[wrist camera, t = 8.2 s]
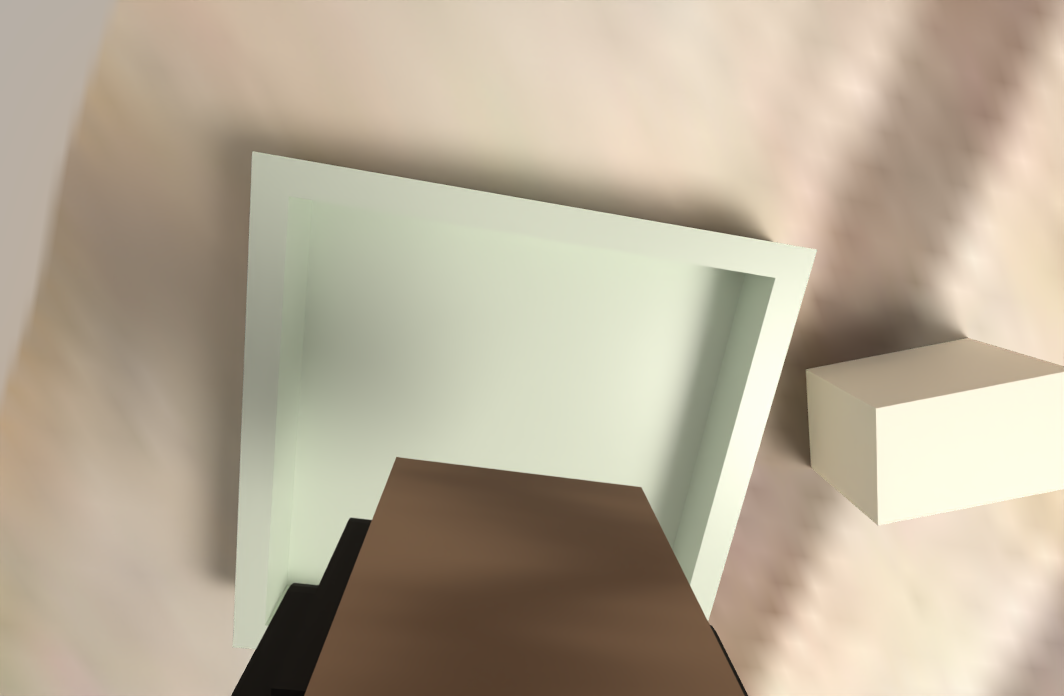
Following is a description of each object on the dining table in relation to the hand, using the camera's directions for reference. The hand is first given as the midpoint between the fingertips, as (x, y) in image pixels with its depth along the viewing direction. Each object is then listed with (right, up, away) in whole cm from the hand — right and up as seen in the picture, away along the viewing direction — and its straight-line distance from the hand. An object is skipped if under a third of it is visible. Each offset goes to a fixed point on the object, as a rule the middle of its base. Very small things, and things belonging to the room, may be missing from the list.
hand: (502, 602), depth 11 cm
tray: (0, +2, +9) cm, 9 cm away
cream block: (+14, +3, +10) cm, 17 cm away
